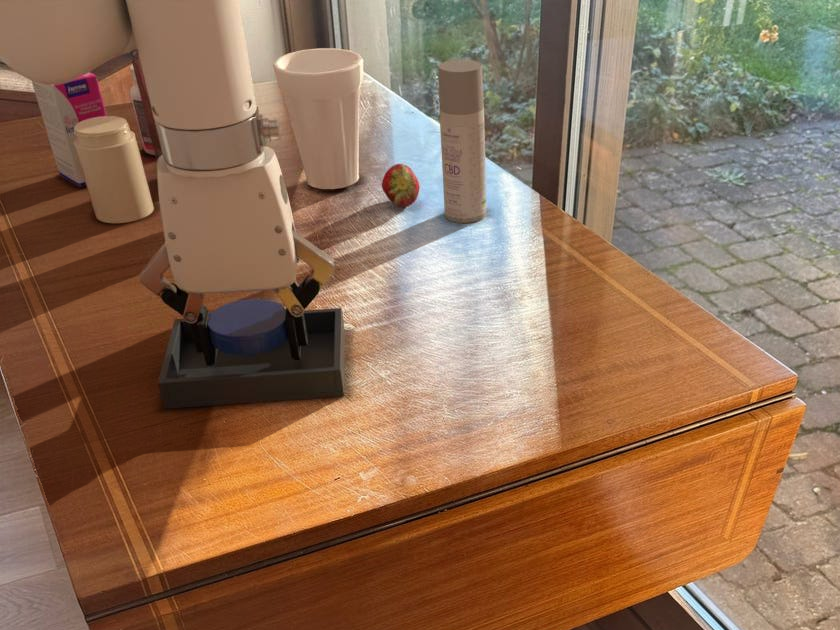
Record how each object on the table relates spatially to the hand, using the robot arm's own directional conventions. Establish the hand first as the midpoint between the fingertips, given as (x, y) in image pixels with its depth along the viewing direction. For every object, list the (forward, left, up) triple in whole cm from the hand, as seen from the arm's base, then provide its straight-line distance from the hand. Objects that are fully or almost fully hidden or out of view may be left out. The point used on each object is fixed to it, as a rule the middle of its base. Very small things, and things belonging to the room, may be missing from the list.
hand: (254, 353), depth 86 cm
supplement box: (-24, +50, -2) cm, 55 cm away
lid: (0, 0, +3) cm, 3 cm away
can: (-12, +47, -2) cm, 48 cm away
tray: (0, 0, -2) cm, 2 cm away
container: (+21, +31, -2) cm, 38 cm away
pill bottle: (-16, +58, -2) cm, 60 cm away
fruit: (+14, +35, -2) cm, 38 cm away
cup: (+6, +43, -2) cm, 43 cm away
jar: (-18, +38, -2) cm, 42 cm away
